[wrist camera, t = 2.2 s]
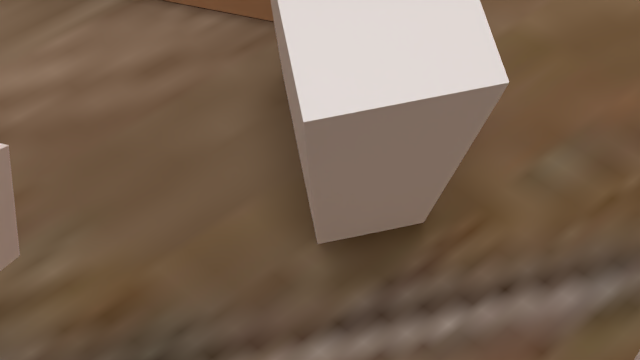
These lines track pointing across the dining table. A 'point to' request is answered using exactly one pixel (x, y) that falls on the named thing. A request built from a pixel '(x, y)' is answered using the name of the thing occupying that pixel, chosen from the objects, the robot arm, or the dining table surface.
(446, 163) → the white block
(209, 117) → the dining table surface
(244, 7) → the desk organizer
